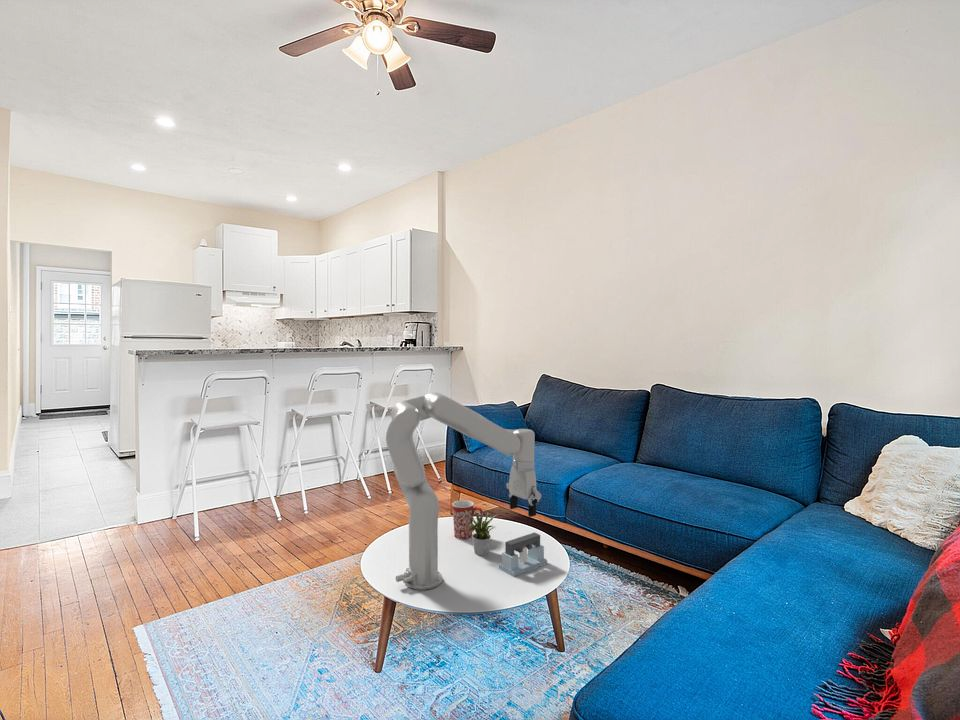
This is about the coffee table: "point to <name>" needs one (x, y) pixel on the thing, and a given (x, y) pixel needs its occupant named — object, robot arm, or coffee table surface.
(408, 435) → the robot arm
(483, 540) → the house plant
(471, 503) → the mug
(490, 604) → the coffee table surface
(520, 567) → the display stand
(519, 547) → the dark grey bar
